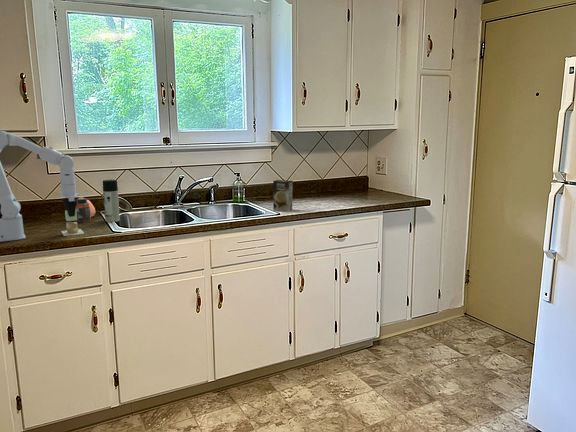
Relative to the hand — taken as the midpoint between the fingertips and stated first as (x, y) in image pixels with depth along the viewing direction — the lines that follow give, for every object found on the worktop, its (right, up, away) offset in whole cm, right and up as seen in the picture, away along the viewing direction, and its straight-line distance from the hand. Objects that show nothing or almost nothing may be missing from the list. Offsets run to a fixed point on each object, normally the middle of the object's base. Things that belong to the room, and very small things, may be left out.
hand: (71, 215), depth 206 cm
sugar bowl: (-11, -1, +34) cm, 36 cm away
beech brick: (0, -7, +1) cm, 7 cm away
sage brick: (0, -2, 0) cm, 2 cm away
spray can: (+8, -3, +26) cm, 27 cm away
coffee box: (+91, +3, +54) cm, 105 cm away
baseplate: (0, -8, +2) cm, 8 cm away
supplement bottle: (-5, -3, +25) cm, 26 cm away
